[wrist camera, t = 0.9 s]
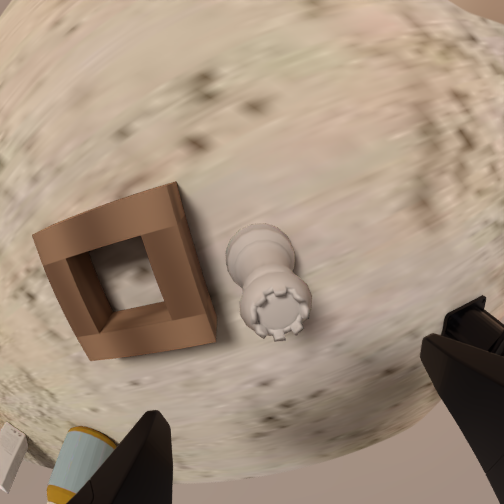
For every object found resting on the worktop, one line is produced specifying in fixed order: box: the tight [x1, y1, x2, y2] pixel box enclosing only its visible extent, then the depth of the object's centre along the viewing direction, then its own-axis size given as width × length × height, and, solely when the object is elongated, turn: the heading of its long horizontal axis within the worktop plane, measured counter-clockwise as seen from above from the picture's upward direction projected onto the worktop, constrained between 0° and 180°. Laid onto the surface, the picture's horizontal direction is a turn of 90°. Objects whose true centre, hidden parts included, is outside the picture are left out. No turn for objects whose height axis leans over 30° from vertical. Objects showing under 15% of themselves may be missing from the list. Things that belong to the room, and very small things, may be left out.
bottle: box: [47, 426, 116, 504], centre depth 18 cm, size 7×7×15 cm
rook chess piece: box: [226, 223, 312, 341], centre depth 15 cm, size 4×4×8 cm
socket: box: [32, 182, 217, 361], centre depth 17 cm, size 10×10×3 cm
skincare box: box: [0, 422, 28, 493], centre depth 20 cm, size 6×4×12 cm
